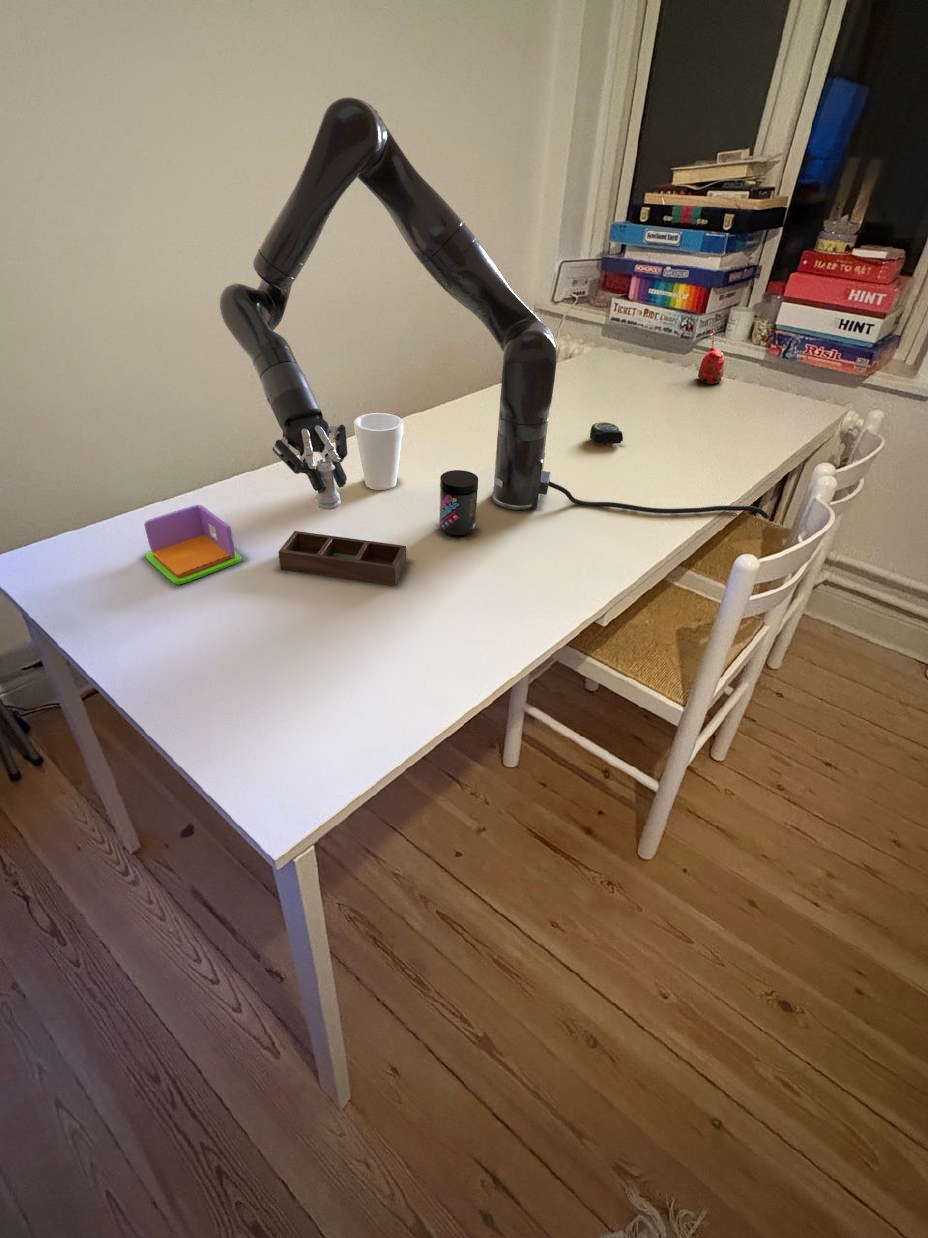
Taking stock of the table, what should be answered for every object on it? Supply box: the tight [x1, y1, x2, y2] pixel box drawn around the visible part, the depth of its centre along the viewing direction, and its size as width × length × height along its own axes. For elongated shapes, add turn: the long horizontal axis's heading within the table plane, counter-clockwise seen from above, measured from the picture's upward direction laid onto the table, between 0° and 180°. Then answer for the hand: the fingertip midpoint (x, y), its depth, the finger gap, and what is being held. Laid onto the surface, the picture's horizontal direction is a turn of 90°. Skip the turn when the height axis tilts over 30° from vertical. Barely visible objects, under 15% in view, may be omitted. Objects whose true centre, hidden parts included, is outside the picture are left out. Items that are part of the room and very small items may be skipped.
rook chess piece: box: [315, 458, 342, 511], centre depth 119 cm, size 4×4×8 cm
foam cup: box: [353, 412, 404, 491], centre depth 138 cm, size 10×9×13 cm
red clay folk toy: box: [697, 326, 725, 385], centre depth 201 cm, size 8×7×15 cm
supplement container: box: [438, 469, 479, 539], centre depth 125 cm, size 7×7×10 cm
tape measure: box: [589, 421, 624, 446], centre depth 164 cm, size 7×7×4 cm
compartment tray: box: [277, 530, 407, 587], centre depth 115 cm, size 7×20×4 cm, turn 79°
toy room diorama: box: [143, 504, 242, 586], centre depth 114 cm, size 12×12×7 cm
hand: (332, 487), depth 118 cm, fingers closed on rook chess piece, 3 cm apart
